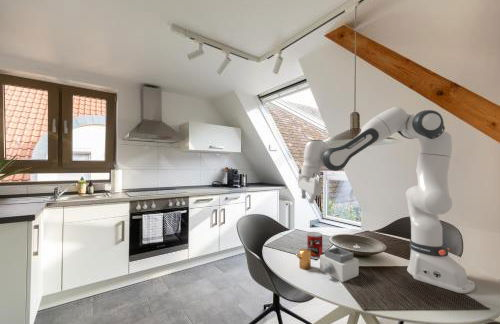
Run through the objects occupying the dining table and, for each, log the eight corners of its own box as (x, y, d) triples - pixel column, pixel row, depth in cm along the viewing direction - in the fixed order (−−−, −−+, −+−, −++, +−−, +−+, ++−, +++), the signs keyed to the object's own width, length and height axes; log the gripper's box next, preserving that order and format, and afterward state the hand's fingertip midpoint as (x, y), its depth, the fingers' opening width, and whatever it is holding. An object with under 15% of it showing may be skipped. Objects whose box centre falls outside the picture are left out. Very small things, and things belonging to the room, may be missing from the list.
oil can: (306, 264, 113) (306, 247, 113) (313, 268, 108) (312, 251, 108) (293, 266, 110) (293, 250, 110) (299, 271, 105) (299, 254, 105)
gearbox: (358, 275, 102) (358, 253, 102) (335, 284, 94) (335, 261, 94) (335, 264, 112) (335, 245, 112) (313, 272, 104) (313, 251, 104)
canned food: (304, 254, 125) (304, 233, 125) (312, 249, 131) (311, 230, 131) (318, 258, 120) (317, 237, 120) (324, 253, 126) (324, 233, 126)
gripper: (327, 176, 102) (322, 206, 103) (308, 171, 122) (305, 196, 123) (313, 174, 101) (309, 205, 102) (297, 169, 121) (294, 195, 122)
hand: (307, 200), depth 113 cm, fingers open, 8 cm apart
